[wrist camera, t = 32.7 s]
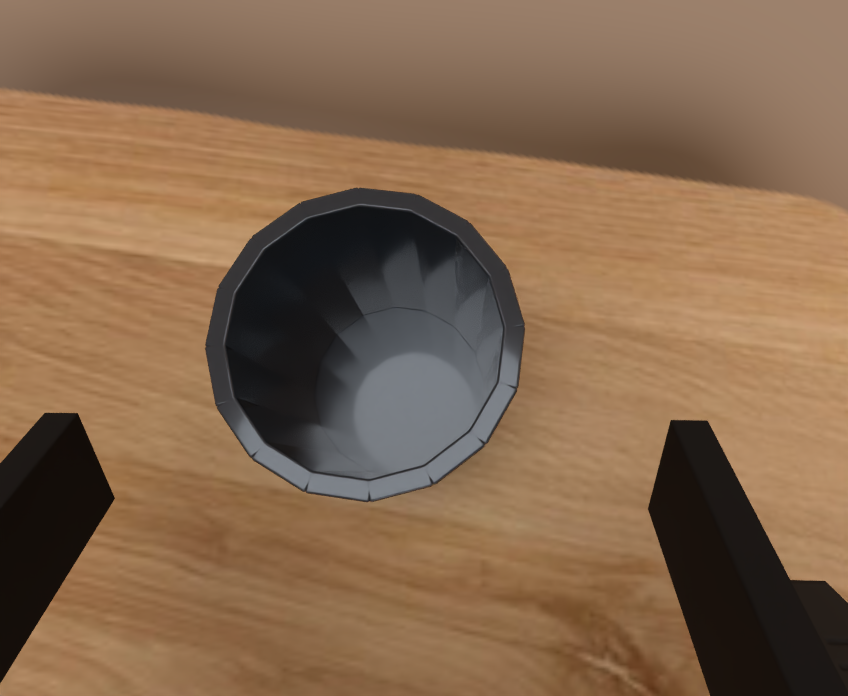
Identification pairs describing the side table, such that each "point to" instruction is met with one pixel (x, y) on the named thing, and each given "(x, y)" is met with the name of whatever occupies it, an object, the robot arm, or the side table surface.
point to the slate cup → (365, 344)
